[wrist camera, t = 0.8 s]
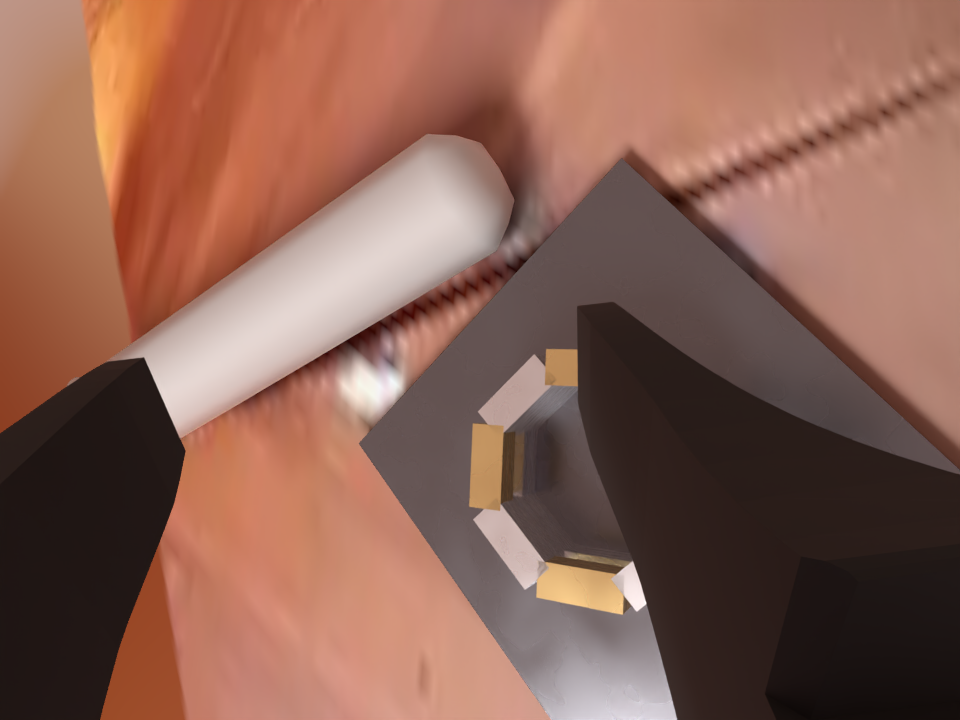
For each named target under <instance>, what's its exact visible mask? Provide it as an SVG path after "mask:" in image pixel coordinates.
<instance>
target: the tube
mask: <svg viewBox="0 0 960 720" xmlns="http://www.w3.org/2000/svg"><path fill="white" fill-rule="evenodd" d="M514 201H515V200H514V198H513V196H512V194H511V192H510V190H509V187H508V185H507V183H506V181H505V179H504V177H503V175H502V173H501V171H500V169H499V167H498V166H497V164H496V163H495V162H494V160H493V159H492V158H491V156H490V155H489V153H488V152H487V151H486V149H485V148H484V146H483V145H482V144H481V143H480V142H476V141H473V140H470V139H467V138H463V137H460V136H457V135H438V134H426V135H425V136H423V137H422V138H420V139H419V140H418V141H416V142H415V143H413V144H412V145H410V146H409V147H408V148H406V149H405V150H403V151H402V152H401V153H399V154H398V155H396V156H395V157H394V158H392V159H391V160H389V161H388V162H387V163H385V164H384V165H382V166H381V167H380V168H378V169H377V170H375V171H374V172H372V173H371V174H370V175H368V176H367V177H365V178H364V179H363V180H361V181H360V182H358V183H357V184H356V185H354V186H353V187H351V188H350V189H349V190H347V191H346V192H344V193H343V194H342V195H340V196H339V197H337V198H336V199H334V200H333V201H332V202H330V203H329V204H327V205H326V206H325V207H323V208H322V209H320V210H319V211H318V212H316V213H315V214H313V215H312V216H311V217H309V218H308V219H306V220H305V221H304V222H302V223H301V224H299V225H298V226H296V227H295V228H294V229H292V230H291V231H289V232H288V233H287V234H285V235H284V236H282V237H281V238H280V239H278V240H277V241H275V242H274V243H273V244H271V245H270V246H268V247H267V248H265V249H264V250H263V251H261V252H260V253H258V254H257V255H256V256H254V257H253V258H251V259H250V260H249V261H247V262H246V263H244V264H243V265H242V266H240V267H239V268H237V269H236V270H235V271H233V272H232V273H230V274H229V275H227V276H226V277H225V278H223V279H222V280H220V281H219V282H218V283H216V284H215V285H213V286H212V287H211V288H209V289H208V290H206V291H205V292H204V293H202V294H201V295H199V296H198V297H197V298H195V299H194V300H192V301H191V302H189V303H188V304H187V305H185V306H184V307H182V308H181V309H180V310H178V311H177V312H175V313H174V314H173V315H171V316H170V317H168V318H167V319H166V320H164V321H163V322H161V323H160V324H159V325H157V326H156V327H154V328H153V329H151V330H150V331H149V332H147V333H146V334H144V335H143V336H142V337H140V338H139V339H137V340H136V341H135V342H133V343H132V344H130V345H129V346H128V347H126V348H125V349H123V350H122V351H121V352H119V353H118V354H116V355H115V356H113V357H112V358H111V359H109V360H108V361H116V360H125V359H133V358H142V357H144V358H145V360H146V363H147V365H148V367H149V369H150V372H151V374H152V376H153V378H154V381H155V383H156V385H157V387H158V390H159V392H160V394H161V397H162V399H163V401H164V403H165V406H166V408H167V410H168V412H169V415H170V417H171V419H172V421H173V424H174V426H175V428H176V431H177V433H178V435H179V437H180V439H181V438H182V437H184V436H186V435H187V434H189V433H191V432H193V431H194V430H196V429H198V428H199V427H201V426H203V425H204V424H206V423H208V422H209V421H211V420H213V419H214V418H216V417H218V416H219V415H221V414H223V413H225V412H226V411H228V410H230V409H231V408H233V407H235V406H236V405H238V404H240V403H241V402H243V401H245V400H246V399H248V398H250V397H251V396H253V395H255V394H257V393H258V392H260V391H262V390H263V389H265V388H267V387H268V386H270V385H272V384H273V383H275V382H277V381H278V380H280V379H282V378H283V377H285V376H287V375H288V374H290V373H292V372H294V371H295V370H297V369H299V368H300V367H302V366H304V365H305V364H307V363H309V362H310V361H312V360H314V359H315V358H317V357H319V356H320V355H322V354H324V353H326V352H327V351H329V350H331V349H332V348H334V347H336V346H337V345H339V344H341V343H342V342H344V341H346V340H347V339H349V338H351V337H352V336H354V335H356V334H358V333H359V332H361V331H363V330H364V329H366V328H368V327H369V326H371V325H373V324H374V323H376V322H378V321H379V320H381V319H383V318H384V317H386V316H388V315H390V314H391V313H393V312H395V311H396V310H398V309H400V308H401V307H403V306H405V305H406V304H408V303H410V302H411V301H413V300H415V299H416V298H418V297H420V296H422V295H423V294H425V293H427V292H428V291H430V290H432V289H433V288H435V287H437V286H438V285H440V284H442V283H443V282H445V281H447V280H448V279H450V278H452V277H453V276H455V275H457V274H459V273H460V272H462V271H464V270H465V269H467V268H469V267H470V266H472V265H474V264H475V263H477V262H479V261H480V260H482V259H484V258H485V257H487V256H489V255H491V254H492V253H494V252H496V251H497V249H498V247H499V245H500V242H501V240H502V238H503V235H504V233H505V231H506V229H507V226H508V224H509V220H510V216H511V213H512V209H513V205H514ZM108 361H106V362H108ZM106 362H105V363H106ZM77 379H79V378H77V377H75V378H74V379H72V380H71V381H70V382H69V384H68V385H70V384H71V383H73V382H74V381H76V380H77ZM68 385H67V386H68Z"/></svg>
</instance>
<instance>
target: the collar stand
mask: <svg viewBox="0 0 960 720" xmlns="http://www.w3.org/2000/svg"><path fill="white" fill-rule="evenodd" d="M606 302H615V303H616V304H617V305H619V306H620V307H622V308H623V309H624V310H626V311H627V312H628V313H630V314H631V315H632V316H634V317H635V318H636V319H638V320H639V321H640V322H642V323H643V324H644V325H646V326H647V327H648V328H650V329H651V330H652V331H654V332H655V333H656V334H658V335H659V336H660V337H662V338H663V339H665V340H666V341H667V342H669V343H670V344H672V345H673V346H674V347H676V348H677V349H679V350H680V351H682V352H683V353H684V354H686V355H687V356H689V357H690V358H692V359H693V360H695V361H696V362H698V363H700V364H701V365H703V366H704V367H706V368H707V369H709V370H711V371H712V372H714V373H716V374H717V375H719V376H721V377H722V378H724V379H726V380H727V381H729V382H731V383H732V384H734V385H736V386H737V387H739V388H741V389H743V390H744V391H746V392H748V393H750V394H752V395H754V396H756V397H758V398H760V399H762V400H764V401H766V402H768V403H770V404H772V405H774V406H776V407H778V408H780V409H782V410H784V411H786V412H788V413H790V414H792V415H794V416H796V417H799V418H801V419H803V420H805V421H808V422H810V423H812V424H815V425H817V426H819V427H822V428H824V429H827V430H830V431H832V432H835V433H837V434H840V435H842V436H845V437H847V438H850V439H852V440H855V441H857V442H860V443H863V444H865V445H868V446H871V447H874V448H877V449H880V450H883V451H886V452H888V453H891V454H894V455H897V456H901V457H904V458H907V459H910V460H913V461H917V462H920V463H923V464H926V465H930V466H933V467H936V468H939V469H942V470H946V471H949V472H953V473H956V474H960V470H959V469H958V468H957V467H956V466H955V465H954V464H953V463H952V462H951V461H950V460H948V459H947V458H946V457H945V456H944V455H943V454H942V453H941V452H940V451H939V450H938V449H937V448H935V447H934V446H933V445H932V444H931V443H930V442H929V441H928V440H927V439H926V438H925V437H923V436H922V435H921V434H920V433H919V432H918V431H917V430H916V429H915V428H914V427H913V426H912V425H910V424H909V423H908V422H907V421H906V420H905V419H904V418H903V417H902V416H901V415H900V414H899V413H897V412H896V411H895V410H894V409H893V408H892V407H891V406H890V405H889V404H888V403H887V402H886V401H884V400H883V399H882V398H881V397H880V396H879V395H878V394H877V393H876V392H875V391H874V390H873V389H871V388H870V387H869V386H868V385H867V384H866V383H865V382H864V381H863V380H862V379H861V378H860V377H858V376H857V375H856V374H855V373H854V372H853V371H852V370H851V369H850V368H849V367H848V366H846V365H845V364H844V363H843V362H842V361H841V360H840V359H839V358H838V357H837V356H836V355H835V354H833V353H832V352H831V351H830V350H829V349H828V348H827V347H826V346H825V345H824V344H823V343H822V342H820V341H819V340H818V339H817V338H816V337H815V336H814V335H813V334H812V333H811V332H810V331H809V330H807V329H806V328H805V327H804V326H803V325H802V324H801V323H800V322H799V321H798V320H797V319H796V318H794V317H793V316H792V315H791V314H790V313H789V312H788V311H787V310H786V309H785V308H784V307H783V306H781V305H780V304H779V303H778V302H777V301H776V300H775V299H774V298H773V297H772V296H771V295H769V294H768V293H767V292H766V291H765V290H764V289H763V288H762V287H761V286H760V285H759V284H758V283H756V282H755V281H754V280H753V279H752V278H751V277H750V276H749V275H748V274H747V273H746V272H745V271H743V270H742V269H741V268H740V267H739V266H738V265H737V264H736V263H735V262H734V261H733V260H732V259H730V258H729V257H728V256H727V255H726V254H725V253H724V252H723V251H722V250H721V249H720V248H719V247H717V246H716V245H715V244H714V243H713V242H712V241H711V240H710V239H709V238H708V237H707V236H706V235H704V234H703V233H702V232H701V231H700V230H699V229H698V228H697V227H696V226H695V225H694V224H692V223H691V222H690V221H689V220H688V219H687V218H686V217H685V216H684V215H683V214H682V213H681V212H679V211H678V210H677V209H676V208H675V207H674V206H673V205H672V204H671V203H670V202H669V201H668V200H666V199H665V198H664V197H663V196H662V195H661V194H660V193H659V192H658V191H657V190H656V189H655V188H653V187H652V186H651V185H650V184H649V183H648V182H647V181H646V180H645V179H644V178H643V177H642V176H640V175H639V174H638V173H637V172H636V171H635V170H634V169H633V168H632V167H631V166H630V165H628V164H627V163H626V162H625V161H624V160H623V159H622V158H621V159H620V161H619V162H618V163H617V164H616V165H615V166H614V167H613V168H612V169H611V170H610V171H609V172H608V174H607V175H606V176H605V177H604V178H603V179H602V180H601V181H600V182H599V183H598V184H597V185H596V187H595V188H594V189H593V190H592V191H591V192H590V193H589V194H588V195H587V196H586V197H585V199H584V200H583V201H582V202H581V203H580V204H579V205H578V206H577V207H576V208H575V209H574V210H573V212H572V213H571V214H570V215H569V216H568V217H567V218H566V219H565V220H564V221H563V222H562V223H561V225H560V226H559V227H558V228H557V229H556V230H555V231H554V232H553V233H552V234H551V235H550V237H549V238H548V239H547V240H546V241H545V242H544V243H543V244H542V245H541V246H540V247H539V248H538V250H537V251H536V252H535V253H534V254H533V255H532V256H531V257H530V258H529V259H528V260H527V261H526V263H525V264H524V265H523V266H522V267H521V268H520V269H519V270H518V271H517V272H516V273H515V274H514V276H513V277H512V278H511V279H510V280H509V281H508V282H507V283H506V284H505V285H504V286H503V288H502V289H501V290H500V291H499V292H498V293H497V294H496V295H495V296H494V297H493V298H492V299H491V301H490V302H489V303H488V304H487V305H486V306H485V307H484V308H483V309H482V310H481V311H480V312H479V314H478V315H477V316H476V317H475V318H474V319H473V320H472V321H471V322H470V323H469V324H468V326H467V327H466V328H465V329H464V330H463V331H462V332H461V333H460V334H459V335H458V336H457V337H456V339H455V340H454V341H453V342H452V343H451V344H450V345H449V346H448V347H447V348H446V349H445V350H444V352H443V353H442V354H441V355H440V356H439V357H438V358H437V359H436V360H435V361H434V362H433V363H432V365H431V366H430V367H429V368H428V369H427V370H426V371H425V372H424V373H423V374H422V375H421V377H420V378H419V379H418V380H417V381H416V382H415V383H414V384H413V385H412V386H411V387H410V388H409V390H408V391H407V392H406V393H405V394H404V395H403V396H402V397H401V398H400V399H399V400H398V401H397V403H396V404H395V405H394V406H393V407H392V408H391V409H390V410H389V411H388V412H387V413H386V415H385V416H384V417H383V418H382V419H381V420H380V421H379V422H378V423H377V424H376V425H375V426H374V428H373V429H372V430H371V431H370V432H369V433H368V434H367V435H366V436H365V437H364V438H363V439H362V441H361V442H360V443H359V444H360V446H361V447H362V449H363V450H364V452H365V453H366V454H367V456H368V457H369V459H370V460H371V462H372V463H373V465H374V466H375V467H376V469H377V470H378V472H379V473H380V475H381V476H382V477H383V479H384V480H385V482H386V483H387V485H388V486H389V487H390V489H391V490H392V492H393V493H394V495H395V496H396V498H397V499H398V500H399V502H400V503H401V505H402V506H403V508H404V509H405V510H406V512H407V513H408V515H409V516H410V518H411V519H412V521H413V522H414V523H415V525H416V526H417V528H418V529H419V531H420V532H421V533H422V535H423V536H424V538H425V539H426V541H427V542H428V543H429V545H430V546H431V548H432V549H433V551H434V552H435V554H436V555H437V556H438V558H439V559H440V561H441V562H442V564H443V565H444V566H445V568H446V569H447V571H448V572H449V574H450V575H451V577H452V578H453V579H454V581H455V582H456V584H457V585H458V587H459V588H460V589H461V591H462V592H463V594H464V595H465V597H466V598H467V599H468V601H469V602H470V604H471V605H472V607H473V608H474V610H475V611H476V612H477V614H478V615H479V617H480V618H481V620H482V621H483V622H484V624H485V625H486V627H487V628H488V630H489V631H490V633H491V634H492V635H493V637H494V638H495V640H496V641H497V643H498V644H499V645H500V647H501V648H502V650H503V651H504V653H505V654H506V655H507V657H508V658H509V660H510V661H511V663H512V664H513V666H514V667H515V668H516V670H517V671H518V673H519V674H520V676H521V677H522V678H523V680H524V681H525V683H526V684H527V686H528V687H529V689H530V690H531V691H532V693H533V694H534V696H535V697H536V699H537V700H538V701H539V703H540V704H541V706H542V707H543V709H544V710H545V711H546V713H547V714H548V716H549V717H550V719H551V720H677V717H676V713H675V709H674V705H673V701H672V697H671V693H670V689H669V686H668V682H667V678H666V674H665V670H664V667H663V663H662V659H661V655H660V652H659V648H658V644H657V640H656V637H655V633H654V629H653V626H652V622H651V619H650V615H649V611H648V608H647V604H646V601H645V597H644V594H643V590H642V586H641V583H640V580H639V577H638V574H637V571H636V569H635V566H634V563H633V560H632V557H631V555H630V552H629V550H628V547H627V545H626V542H625V540H624V537H623V535H622V532H621V530H620V527H619V525H618V522H617V520H616V517H615V515H614V512H613V510H612V507H611V504H610V502H609V499H608V497H607V494H606V492H605V489H604V487H603V484H602V482H601V479H600V477H599V474H598V472H597V469H596V466H595V464H594V461H593V459H592V456H591V453H590V450H589V446H588V442H587V438H586V435H585V431H584V427H583V422H582V418H581V414H580V410H579V406H578V361H577V306H581V305H589V304H597V303H606Z"/></svg>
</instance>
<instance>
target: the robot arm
mask: <svg viewBox="0 0 960 720" xmlns="http://www.w3.org/2000/svg"><path fill="white" fill-rule="evenodd" d="M577 361H578V406H579V410H580V414H581V418H582V422H583V427H584V431H585V435H586V438H587V442H588V446H589V450H590V453H591V456H592V459H593V461H594V464H595V466H596V469H597V472H598V474H599V477H600V479H601V482H602V484H603V487H604V489H605V492H606V494H607V497H608V499H609V502H610V504H611V507H612V510H613V512H614V515H615V517H616V520H617V522H618V525H619V527H620V530H621V532H622V535H623V537H624V540H625V542H626V545H627V547H628V550H629V552H630V555H631V557H632V560H633V563H634V566H635V569H636V571H637V574H638V577H639V580H640V583H641V586H642V590H643V594H644V597H645V601H646V604H647V608H648V611H649V615H650V619H651V622H652V626H653V629H654V633H655V637H656V640H657V644H658V648H659V652H660V655H661V659H662V663H663V667H664V670H665V674H666V678H667V682H668V686H669V689H670V693H671V697H672V701H673V705H674V709H675V713H676V717H677V720H960V474H956V473H953V472H949V471H946V470H942V469H939V468H936V467H933V466H930V465H926V464H923V463H920V462H917V461H913V460H910V459H907V458H904V457H901V456H897V455H894V454H891V453H888V452H886V451H883V450H880V449H877V448H874V447H871V446H868V445H865V444H863V443H860V442H857V441H855V440H852V439H850V438H847V437H845V436H842V435H840V434H837V433H835V432H832V431H830V430H827V429H824V428H822V427H819V426H817V425H815V424H812V423H810V422H808V421H805V420H803V419H801V418H799V417H796V416H794V415H792V414H790V413H788V412H786V411H784V410H782V409H780V408H778V407H776V406H774V405H772V404H770V403H768V402H766V401H764V400H762V399H760V398H758V397H756V396H754V395H752V394H750V393H748V392H746V391H744V390H743V389H741V388H739V387H737V386H736V385H734V384H732V383H731V382H729V381H727V380H726V379H724V378H722V377H721V376H719V375H717V374H716V373H714V372H712V371H711V370H709V369H707V368H706V367H704V366H703V365H701V364H700V363H698V362H696V361H695V360H693V359H692V358H690V357H689V356H687V355H686V354H684V353H683V352H682V351H680V350H679V349H677V348H676V347H674V346H673V345H672V344H670V343H669V342H667V341H666V340H665V339H663V338H662V337H660V336H659V335H658V334H656V333H655V332H654V331H652V330H651V329H650V328H648V327H647V326H646V325H644V324H643V323H642V322H640V321H639V320H638V319H636V318H635V317H634V316H632V315H631V314H630V313H628V312H627V311H626V310H624V309H623V308H622V307H620V306H619V305H617V304H616V303H615V302H606V303H597V304H589V305H581V306H577ZM184 456H185V449H184V446H183V444H182V442H181V440H180V437H179V435H178V433H177V431H176V428H175V426H174V424H173V421H172V419H171V417H170V415H169V412H168V410H167V408H166V406H165V403H164V401H163V399H162V397H161V394H160V392H159V390H158V387H157V385H156V383H155V381H154V378H153V376H152V374H151V372H150V369H149V367H148V365H147V363H146V360H145V358H144V357H142V358H133V359H125V360H116V361H108V362H106V363H104V364H102V365H100V366H99V367H96V368H95V369H93V370H92V371H90V372H88V373H87V374H85V375H83V376H82V377H80V378H79V379H77V380H76V381H74V382H73V383H71V384H70V385H68V386H67V387H66V388H64V389H63V390H61V391H60V392H58V393H57V394H56V395H54V396H53V397H51V398H50V399H48V400H47V401H46V402H44V403H43V404H41V405H40V406H39V407H37V408H36V409H34V410H33V411H31V412H30V413H29V414H27V415H26V416H24V417H23V418H22V419H20V420H19V421H18V422H16V423H14V424H13V425H12V426H10V427H9V428H7V429H6V430H4V431H3V432H2V433H0V720H100V717H101V713H102V709H103V705H104V701H105V698H106V694H107V690H108V686H109V683H110V679H111V675H112V672H113V668H114V665H115V661H116V657H117V653H118V650H119V647H120V644H121V641H122V638H123V635H124V632H125V629H126V626H127V623H128V621H129V618H130V616H131V613H132V611H133V608H134V606H135V603H136V600H137V598H138V595H139V592H140V590H141V588H142V585H143V583H144V580H145V578H146V575H147V572H148V570H149V567H150V565H151V562H152V560H153V557H154V555H155V552H156V550H157V547H158V545H159V542H160V539H161V537H162V534H163V532H164V529H165V526H166V524H167V521H168V518H169V516H170V513H171V510H172V508H173V505H174V502H175V497H176V493H177V489H178V485H179V481H180V476H181V471H182V466H183V461H184Z"/></svg>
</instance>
